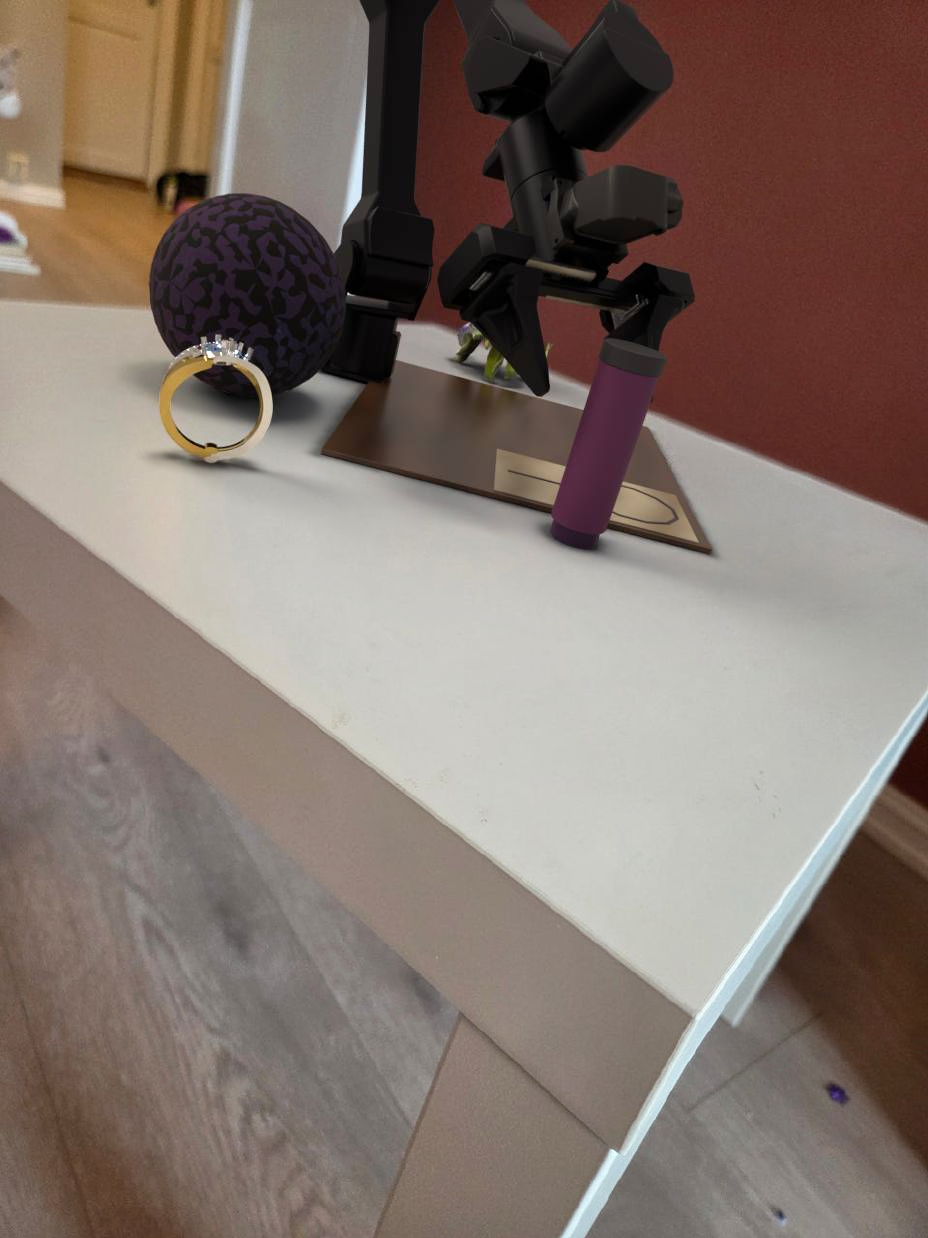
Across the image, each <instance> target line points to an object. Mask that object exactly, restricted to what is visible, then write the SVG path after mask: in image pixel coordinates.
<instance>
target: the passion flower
mask: <svg viewBox="0 0 928 1238" xmlns="http://www.w3.org/2000/svg"><path fill="white" fill-rule="evenodd" d="M456 336H457V341H458V345H459V347H460V348H459V349H458V350H457V351H456V352H455V355H456V356H455V358H454V359H455V361H456V362H457V363H463V362H464V363H465V362H466V361H467V360H468V358H469V357H470V356H471V354H473V353H474V352H475V351H476V350H477V348H478V347H479V346H480V345H481V343H482V341H483V339H484V341H483V346H484V349H485V351H487V350H489V352H488V354H487V355H486V360H485V361H486V363H485V365H484V376H485V377H486V379H488V380H489V383H493V382H494V379H495V377H496V376H495V375H496V373H497V372H498V371H499V370H500V368H501V367H502V365H503V363H504V360H505V358H504V357H503V356H502V355H501V354H500V353H499V351H498V350H497V349H496V348H495V347H494V346H493V345H492V344H491V343H490V342H489V341H488V340H487V339H486V338H485V337H484V336H483V335H482V334H481V333H480V332H479V331H478V330H477V328H476V327H475V326H474V325H473V324H472V323H470V322H467V323H466V324H463V325H462V326H461V327H460V328H459V329H458V333H457V335H456ZM553 345H554V343H553V342H545V344H544V348H545V353H546V358H547V359H548V357H549V354H550V352H551V348H552V346H553ZM490 346H491V348H490V349H489V347H490ZM515 375H518V374H517V373H516V371H515V370H514V369H513V368H512V367H511V365H510V364H509V363H508V362H507V361H506V365H505V372H504V379H506V380H507V379H509V378H512V377H514V376H515Z"/></svg>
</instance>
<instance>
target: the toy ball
mask: <svg viewBox="0 0 928 1238" xmlns="http://www.w3.org/2000/svg"><path fill="white" fill-rule="evenodd" d="M152 257H153V258H152V261H151V264H150V271H149V277H148V278H149V280H148V290H149V303H150V304H149V305H150V310H151V313H152V316H153V320H154V324H155V326H156V328H157V332H158V334H159V335H160V338H161V340H162V341H163V343H164V344H165V346H166V347H167V349H168V350H169V353H170V354H171V355H172V356H173V358H174V359H175V358H176V357H177V356H178V355H179V354H180V353H181V352H183V351H184V350H186V349H188V348H190V347H193V346H195V345H198V344H201V337H206V338H207V342H215V337H216V333H217V334H221V335H222V336H221V341H222V340H229V339H230V337H231V338H234V340H235V341H237V344H238V346H239V343H240V342H243V343H244V346H243V349H242V353H245V354H247V351H248V349H249V347H251V348H253V349H254V351H253V353H252V356H251V358H250V361H252V362H253V363H254V364H256V365H257V366H258V367H259V368H260V369H261V371H262V372H263V373H264V375H265V377H266V379H267V381H268V384H269V387H270V390H271V395H272V396H276V395H280V394H283V393H286V392H290V391H292V390H294V389H296V388H298V387H299V386H301V385H303V384H305V383H306V382H308V381H309V380H311V379H312V378H313V377H314V376H316V375H317V374H318V373H319V372H320V371H321V370H320V369H321V368H322V367H323V366H324V365H325V363H326V362H327V361H328V360H329V358H330V357H331V355H332V353H333V352H334V350H335V349H336V346H337V344H338V342H339V339H340V336H341V333H342V329H343V324H344V319H345V312H346V294H345V287H344V282H343V276H342V273H341V270H340V267H339V264H338V261H337V259H336V257H335V255H334V251H333V250H332V248H331V247H330V245H329V243H328V242H327V240H326V239H325V237H324V236H323V235H322V234H321V233H320V231H319V230H318V229H317V228H316V226H315V225H313V223H312V222H311V221H310V220H309V219H308V218H306V217H304V216H303V215H301V213H299V212H298V211H297V210H295V209H294V208H293V207H290V206H289V205H287V204H285V203H283V202H281V201H279V200H277V199H274V198H270V197H268V196H265V195H261V194H259V195H258V194H254V193H247V192H235V193H225V194H220V195H215V196H212V197H210V198H206V199H203V200H202V201H199V202H198V203H196V204H194V205H192V206H191V207H188V208H187V209H186V210H185V211H183V212H182V213H181V214H180V215H179V216H178V217H177V218H176V219H175V220H174V221H173V222H172V223H171V225H169V227H168V228H166V230H165V231H164V233H163V234H162V236H161V238H160V240H159V241H158V244H157V246H156V249H155V251H154V254H153V256H152ZM238 346H237V349H238ZM198 357H204V355H199V356H197V357H195V358H198ZM193 359H194V358H193ZM192 376H194V377H195V378H196V379H197V380H199V381H200V382H202V383H204V384H205V385H208V386H209V387H211V388H213V389H215V390H218V391H221V392H224V393H227V394H230V395H234V396H240V397H249V398H259V395H258V392H257V390H256V388H255V386H254V385H253V383H252V382H251V381H250V379H249V378H248V377H247V376H246V375H245V374H244V373H242V372H241V371H240V370H238V369H237V368H235V367H234V366H233V365H232V364H231V365H215V364H212V367H211V368H209V369H205V370H202V371H200V372H197V373H195V374H193V375H192Z"/></svg>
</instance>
